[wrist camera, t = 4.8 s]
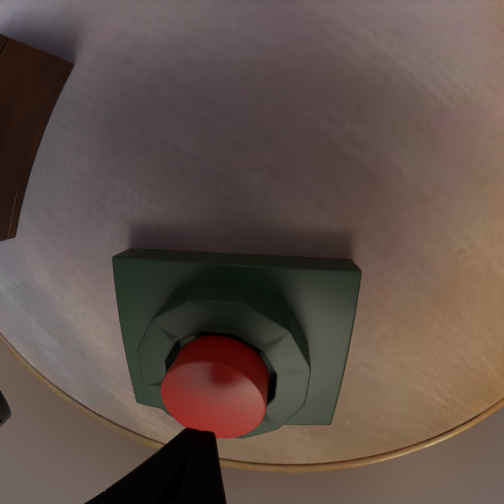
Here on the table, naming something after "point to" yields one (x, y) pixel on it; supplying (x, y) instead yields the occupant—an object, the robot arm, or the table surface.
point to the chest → (23, 119)
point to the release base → (242, 321)
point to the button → (217, 386)
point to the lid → (2, 41)
